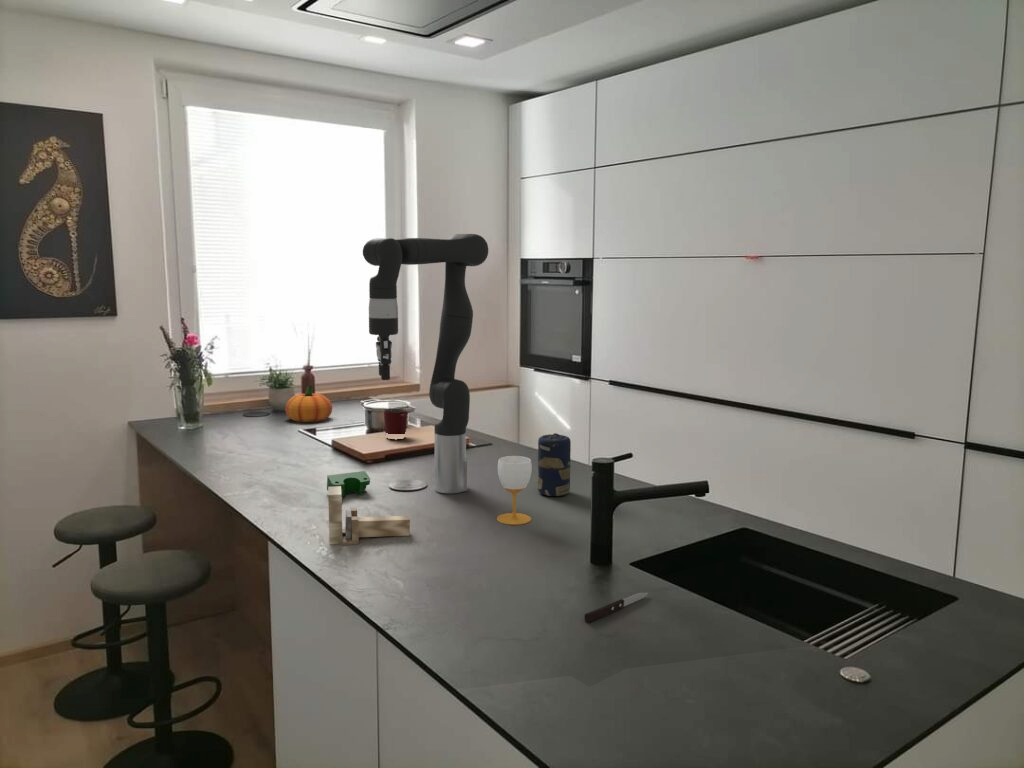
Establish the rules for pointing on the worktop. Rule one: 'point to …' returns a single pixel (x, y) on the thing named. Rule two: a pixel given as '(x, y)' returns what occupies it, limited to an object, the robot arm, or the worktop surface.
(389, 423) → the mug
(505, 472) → the cup
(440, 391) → the robot arm
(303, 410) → the pumpkin
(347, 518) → the light wooden bar
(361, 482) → the clamp
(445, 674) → the worktop surface
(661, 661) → the worktop surface
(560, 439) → the canister
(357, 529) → the post block
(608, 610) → the kitchen knife
